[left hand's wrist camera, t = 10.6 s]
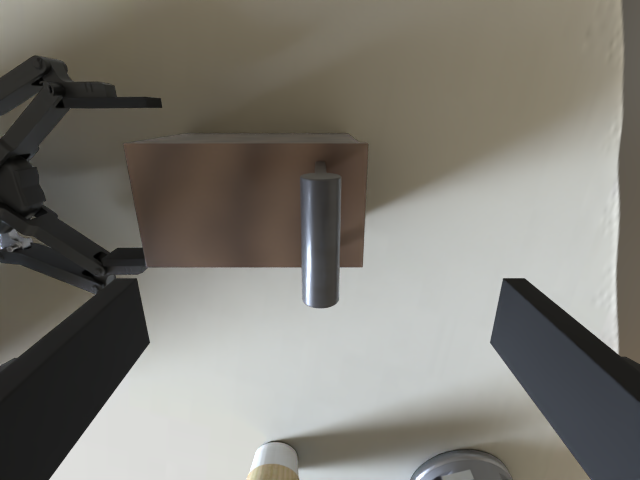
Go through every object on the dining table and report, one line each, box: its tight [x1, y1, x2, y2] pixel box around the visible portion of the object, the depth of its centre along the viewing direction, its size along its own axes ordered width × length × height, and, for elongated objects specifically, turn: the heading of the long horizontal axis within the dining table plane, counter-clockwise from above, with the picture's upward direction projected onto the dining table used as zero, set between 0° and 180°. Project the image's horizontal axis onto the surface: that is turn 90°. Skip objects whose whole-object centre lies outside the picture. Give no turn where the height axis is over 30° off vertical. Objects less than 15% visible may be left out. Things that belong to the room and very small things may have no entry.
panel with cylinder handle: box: [123, 142, 368, 308], centre depth 22 cm, size 17×9×9 cm, turn 90°
